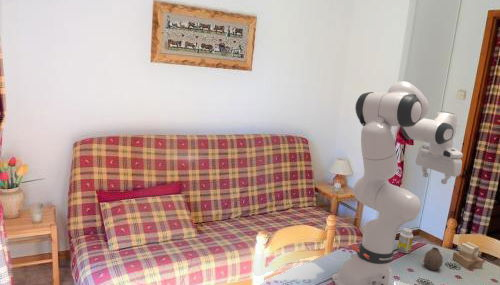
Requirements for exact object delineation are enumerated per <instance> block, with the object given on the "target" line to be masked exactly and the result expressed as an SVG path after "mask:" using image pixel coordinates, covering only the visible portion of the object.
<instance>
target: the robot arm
mask: <svg viewBox="0 0 500 285" xmlns="http://www.w3.org/2000/svg"><path fill="white" fill-rule="evenodd" d="M429 108H430V105H429V101H428V99H427V98H426V96H425V95H424V94H423V92H422V91H421V90H420V89H419V88H417V87H416V86H415V85H414V84H413V83H411V82H409V81H404V80H402V81H401V80H400V81H397V82H395V83H393V84H391V86H390V87H389V88H388V91H387V92H385V91H384V92H383V91H381V92H380V91H379V92H378V91H377V92H374V91H370V92H364V93H362V94H360V95H359V97H358V98H357V100H356V102H355V110H354V111H355V113H356V117H357V119H358V120H359V123H360V124H361V125H362V128H361V132H360V134H361V135H360V149H361V154H362V155H361V156H362V162H363V169H364V170H363V176H362V177H361V178H359V179H358V180H357V181H356V182H355V184H354V186H353V196H354V198H355V199H356V200H357V201H358V202H360V203H361V204H362V205H364V206H365V207H368V208H370V209H372V210H374V211H377V212H378V218H377V219H372V220H371V219H370V220H369V221H367V223H365V225H364V229H363V235H362V240H361V242H360V244H359V247H358V245H357V244H354V245H352V247H351V249H352V251H353V252H355V254H354V255H352V256H351V257H350V258H349V259H348V260H346V261H345V262H343V263H342V264H341V266H340V269H339V272H337V273H334V274H332V275H331V280H332V279H333V280H332V282H333V281H334V282H335V283H334V282H333V283H334V284H335V285H392V261H393V258H394V253H395V250H394V247H395V246H394V245H395V241H396V237H397V234H398V232H399V230H400V228H401V227H402V226H403V225H404V224H406V223H409V222H411V221H413V220H415V219H416V218H418V216H419V215H420V213H421V209H422V207H421V206H422V204H421V200H420V197H419V196H417V195H416V194H414V193H413V192H411V191H409V190H408V189H406V188H403V187H400V186H398V185H394V184H392V183H390V181H389V179H391V178H393V177H394V176H395V175H396V174H397V172H398V170H399V165H398V156H397V150H396V143H395V138H394V135H393V132H392V127H400V129H401V133H402V135H403V136H404V138H405V139H407V140H411V141H419V142H422V143H428V144H429V145H425V144H423V145H421V146H419V147H418V153H417V154H416V158H415V164H416V166H417V165H418V166H420V167H421V170H422V177H423V178H428V177H429V173H428V169H429V170H432V171H435V172H439V173H441V174H444V178H442V179H441V181H440V183H441V184H442V185H447V183H448V180H450V178H451V177H453V178H454V177H460V175H461V173H462V166H463V160H462V158H463V157H464V156H463V155H464V154H463V152H461V151H459V149H456V148H455V147H454V138H455V135H456V130H457V122H458V118H457V115H456V114H455V113H452V112H449V111H437V113H436V115H435V118H434V119H431V118H430V119H429V118H426V116H427V114H428V112H429V110H430V109H429Z"/></svg>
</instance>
